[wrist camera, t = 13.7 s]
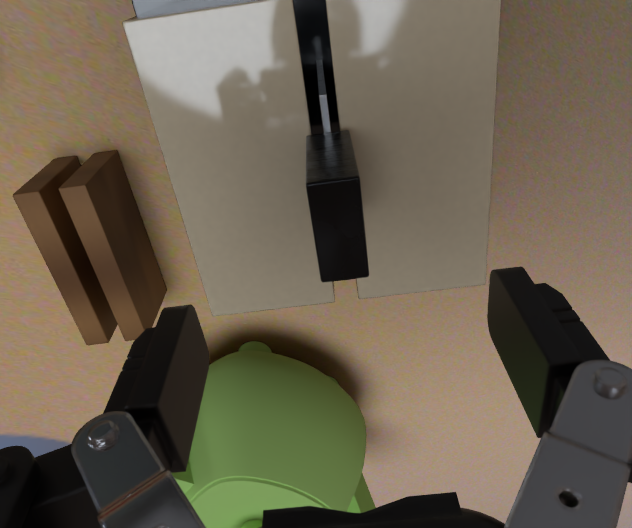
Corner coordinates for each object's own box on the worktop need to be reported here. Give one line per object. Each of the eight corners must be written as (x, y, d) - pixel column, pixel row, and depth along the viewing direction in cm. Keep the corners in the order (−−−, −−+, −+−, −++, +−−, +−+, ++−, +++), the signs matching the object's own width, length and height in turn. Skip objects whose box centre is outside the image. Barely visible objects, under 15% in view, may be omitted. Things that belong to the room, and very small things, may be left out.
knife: (301, 62, 26) (297, 139, 16) (336, 57, 26) (355, 131, 16) (319, 188, 30) (326, 315, 20) (350, 183, 30) (372, 310, 19)
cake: (129, -29, 25) (66, -18, 18) (484, -85, 24) (551, -96, 17) (213, 265, 34) (191, 342, 27) (473, 233, 33) (514, 305, 26)
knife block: (53, 158, 30) (11, 194, 25) (116, 149, 29) (85, 184, 25) (113, 296, 35) (86, 345, 31) (167, 290, 35) (147, 338, 30)
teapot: (422, 395, 40) (463, 557, 30) (325, 482, 46) (330, 643, 36) (196, 278, 34) (145, 431, 23) (116, 395, 40) (47, 561, 29)
